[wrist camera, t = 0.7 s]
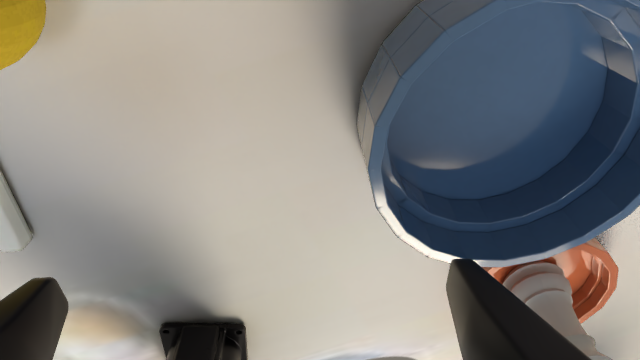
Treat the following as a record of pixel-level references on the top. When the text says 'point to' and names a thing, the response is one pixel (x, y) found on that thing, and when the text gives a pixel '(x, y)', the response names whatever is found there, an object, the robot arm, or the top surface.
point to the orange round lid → (580, 276)
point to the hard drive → (11, 222)
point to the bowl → (505, 126)
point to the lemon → (19, 28)
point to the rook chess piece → (551, 301)
